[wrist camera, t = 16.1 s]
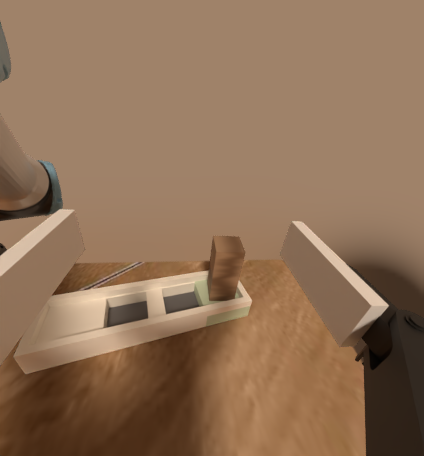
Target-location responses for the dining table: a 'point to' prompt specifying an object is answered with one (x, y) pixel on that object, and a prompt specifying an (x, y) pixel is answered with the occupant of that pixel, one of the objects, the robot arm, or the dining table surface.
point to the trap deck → (122, 318)
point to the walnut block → (224, 267)
